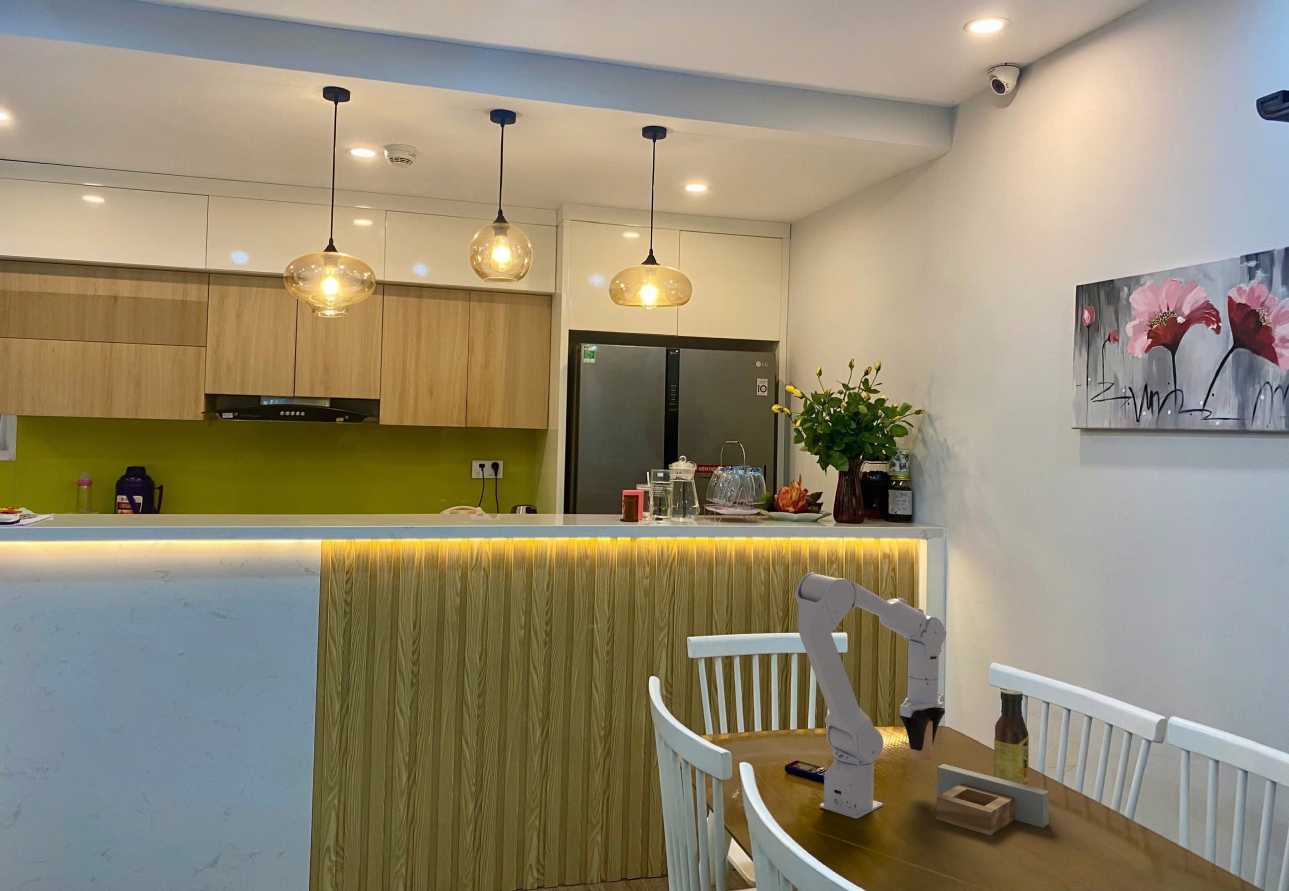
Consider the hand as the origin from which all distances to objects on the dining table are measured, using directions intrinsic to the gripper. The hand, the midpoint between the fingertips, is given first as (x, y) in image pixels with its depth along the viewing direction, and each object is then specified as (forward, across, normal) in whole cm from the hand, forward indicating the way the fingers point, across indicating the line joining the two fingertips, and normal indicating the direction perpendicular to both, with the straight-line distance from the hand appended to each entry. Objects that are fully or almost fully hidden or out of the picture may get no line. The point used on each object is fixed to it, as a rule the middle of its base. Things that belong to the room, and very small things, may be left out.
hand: (921, 746), depth 184 cm
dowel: (+2, 0, 0) cm, 2 cm away
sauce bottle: (+9, +12, -13) cm, 20 cm away
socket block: (+9, -6, -13) cm, 17 cm away
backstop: (+9, +1, -14) cm, 16 cm away
